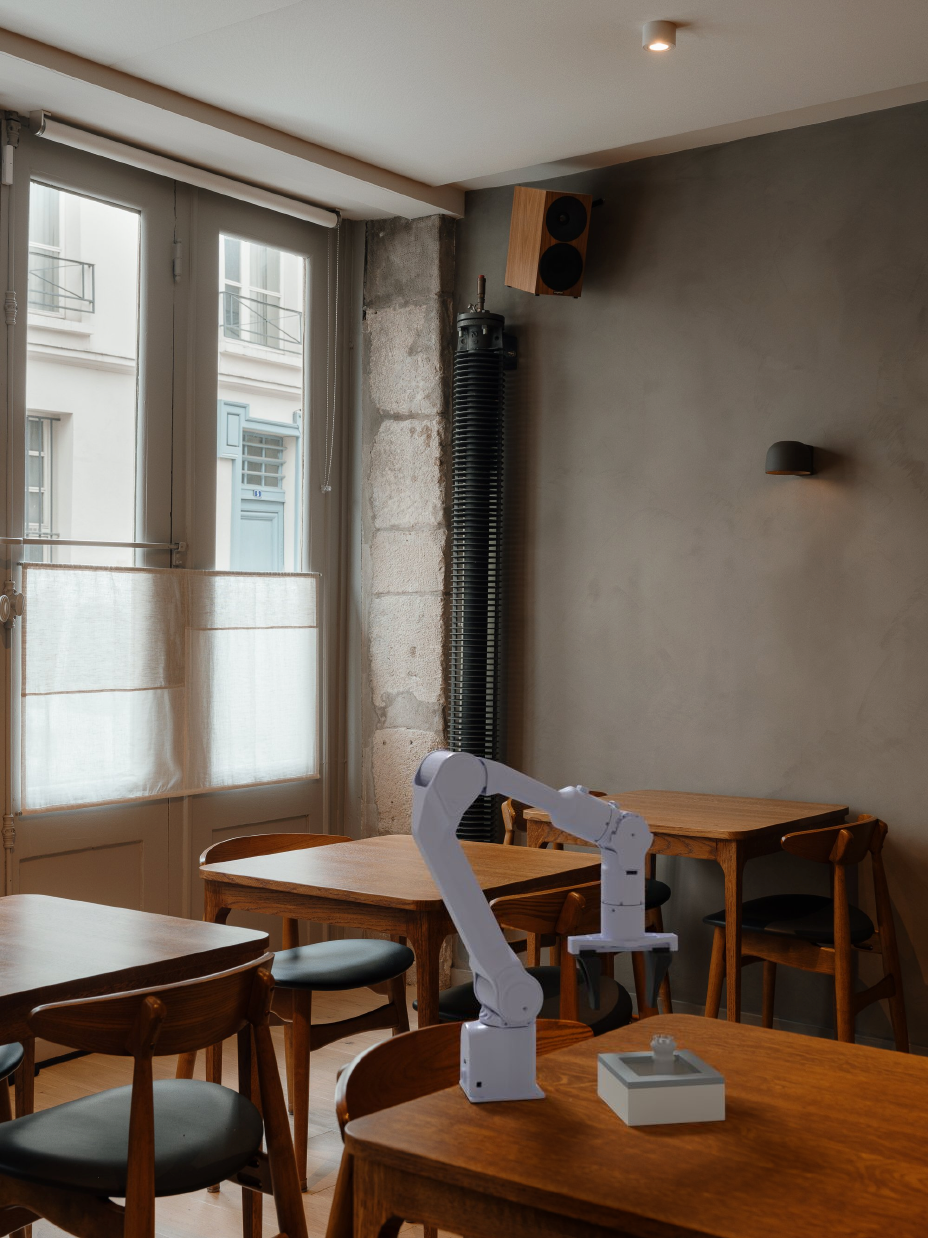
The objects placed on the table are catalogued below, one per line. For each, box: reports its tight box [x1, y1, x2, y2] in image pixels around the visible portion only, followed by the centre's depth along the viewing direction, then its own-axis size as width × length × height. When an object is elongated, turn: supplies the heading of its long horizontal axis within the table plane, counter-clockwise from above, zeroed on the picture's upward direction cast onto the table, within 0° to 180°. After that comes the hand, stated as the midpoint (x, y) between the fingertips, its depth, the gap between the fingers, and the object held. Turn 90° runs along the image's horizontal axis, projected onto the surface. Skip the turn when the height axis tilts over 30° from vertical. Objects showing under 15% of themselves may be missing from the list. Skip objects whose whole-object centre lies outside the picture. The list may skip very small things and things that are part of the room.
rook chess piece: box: [649, 1033, 678, 1076], centre depth 154 cm, size 4×4×8 cm
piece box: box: [597, 1048, 726, 1127], centre depth 155 cm, size 12×12×5 cm
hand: (623, 1007), depth 166 cm, fingers open, 7 cm apart
